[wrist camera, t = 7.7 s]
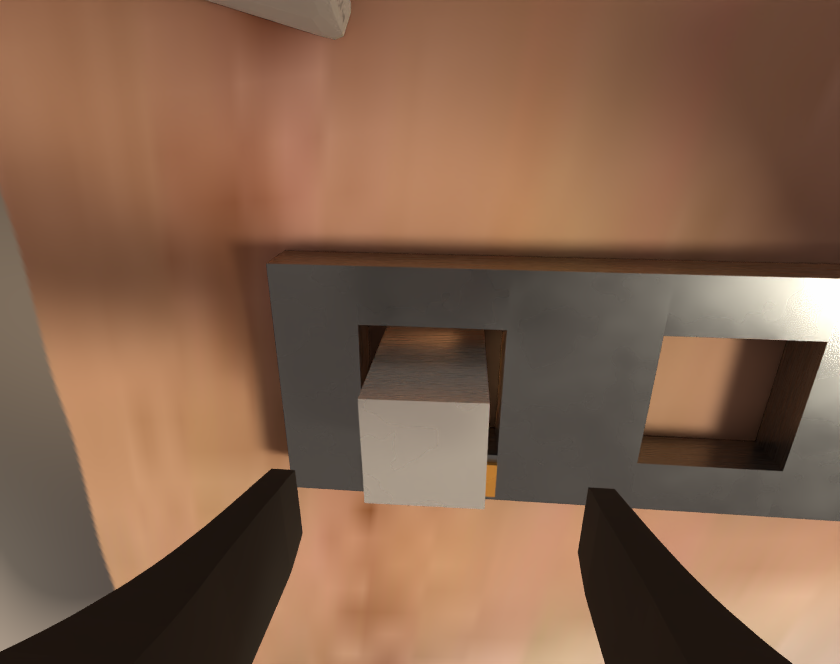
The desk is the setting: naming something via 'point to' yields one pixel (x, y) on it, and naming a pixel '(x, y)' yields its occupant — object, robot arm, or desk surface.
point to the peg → (426, 418)
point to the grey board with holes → (574, 371)
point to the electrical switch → (299, 14)
